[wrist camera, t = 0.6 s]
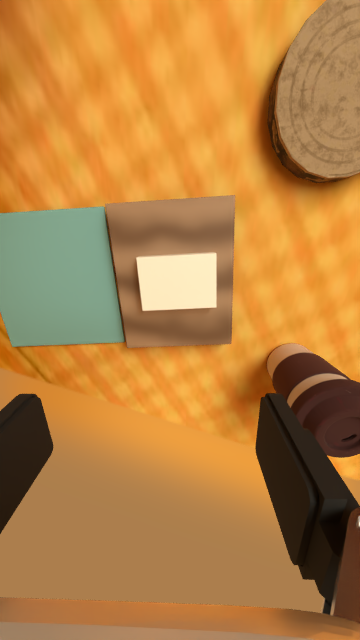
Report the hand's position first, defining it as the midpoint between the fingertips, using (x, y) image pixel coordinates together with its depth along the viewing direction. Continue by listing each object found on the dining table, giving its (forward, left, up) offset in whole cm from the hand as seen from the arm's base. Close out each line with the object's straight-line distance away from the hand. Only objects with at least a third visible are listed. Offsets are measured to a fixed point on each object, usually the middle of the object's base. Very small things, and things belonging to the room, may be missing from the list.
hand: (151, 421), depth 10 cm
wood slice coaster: (-21, +20, -27) cm, 39 cm away
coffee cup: (+13, +18, -26) cm, 34 cm away
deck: (-2, 0, -26) cm, 26 cm away
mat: (-2, -19, -26) cm, 32 cm away
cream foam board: (-2, 0, -24) cm, 24 cm away
